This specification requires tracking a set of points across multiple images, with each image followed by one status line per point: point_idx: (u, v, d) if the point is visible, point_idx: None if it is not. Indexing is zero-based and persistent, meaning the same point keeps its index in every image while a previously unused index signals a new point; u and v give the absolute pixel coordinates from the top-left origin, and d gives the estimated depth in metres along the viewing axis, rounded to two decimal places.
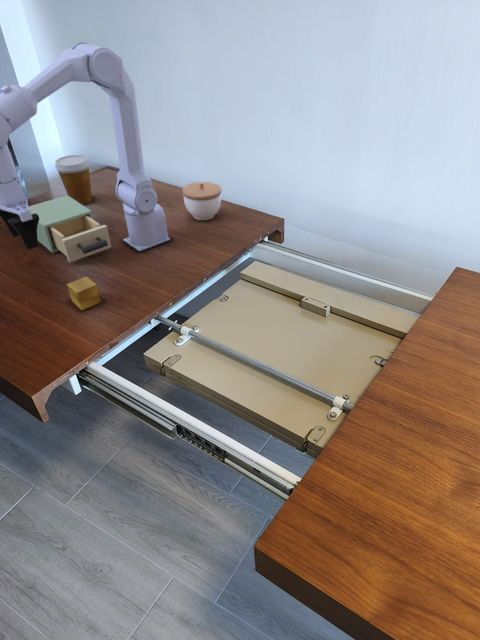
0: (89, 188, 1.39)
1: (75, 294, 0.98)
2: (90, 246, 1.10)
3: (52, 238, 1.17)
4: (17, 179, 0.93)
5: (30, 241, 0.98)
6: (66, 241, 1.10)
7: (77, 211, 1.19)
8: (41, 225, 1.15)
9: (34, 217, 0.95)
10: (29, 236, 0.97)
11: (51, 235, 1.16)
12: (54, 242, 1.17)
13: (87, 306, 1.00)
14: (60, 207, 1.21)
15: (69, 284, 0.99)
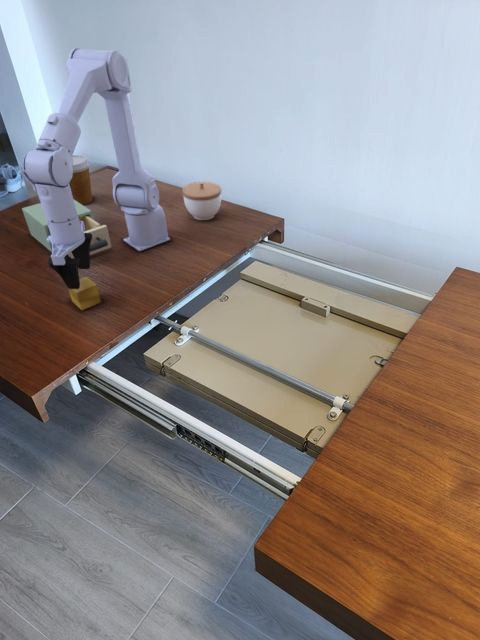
0: (89, 188, 1.39)
1: (75, 294, 0.98)
2: (90, 246, 1.10)
3: None
4: (69, 221, 0.88)
5: (70, 282, 0.94)
6: None
7: (77, 211, 1.19)
8: (41, 225, 1.15)
9: (72, 262, 0.89)
10: (70, 277, 0.93)
11: None
12: None
13: (87, 306, 1.00)
14: None
15: None
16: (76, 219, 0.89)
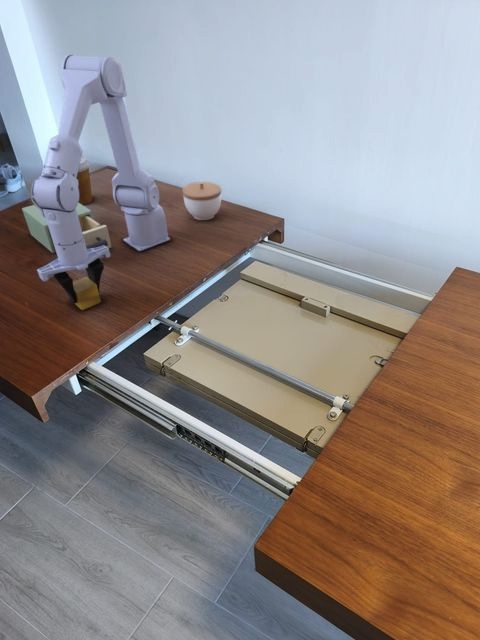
0: (89, 188, 1.39)
1: None
2: (90, 246, 1.10)
3: None
4: None
5: None
6: None
7: (77, 211, 1.19)
8: (41, 225, 1.15)
9: None
10: None
11: None
12: None
13: (87, 306, 1.00)
14: None
15: None
16: None
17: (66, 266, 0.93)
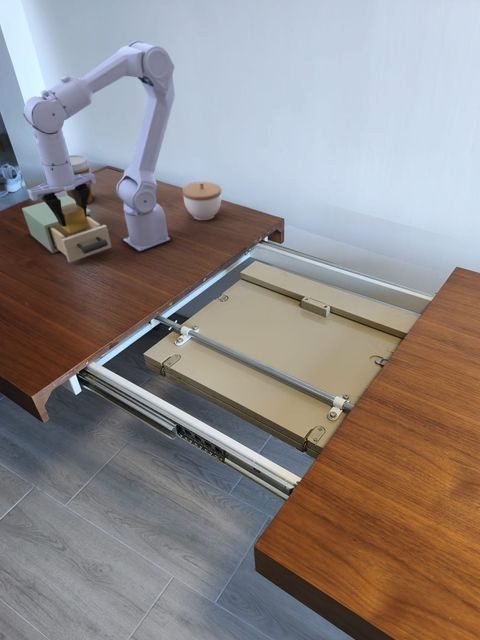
0: (89, 188, 1.39)
1: None
2: (90, 246, 1.10)
3: (52, 238, 1.17)
4: None
5: None
6: (66, 241, 1.10)
7: None
8: (41, 225, 1.15)
9: None
10: None
11: (51, 235, 1.16)
12: (54, 242, 1.17)
13: (75, 229, 1.07)
14: None
15: None
16: None
17: (54, 187, 1.00)
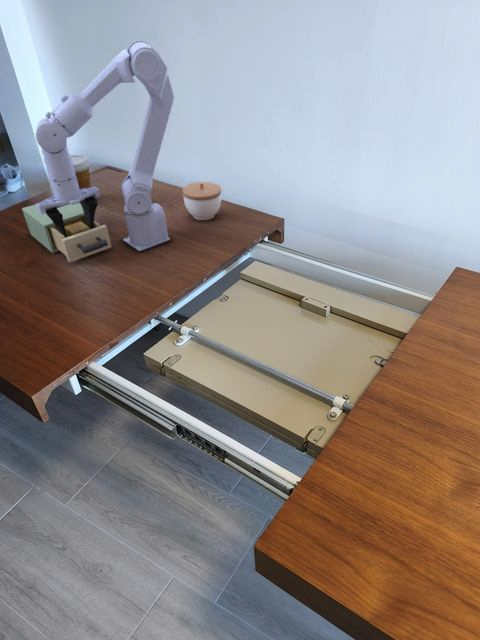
0: None
1: (71, 235, 1.14)
2: (90, 246, 1.10)
3: (52, 238, 1.17)
4: None
5: None
6: (66, 241, 1.10)
7: (77, 211, 1.19)
8: (41, 225, 1.15)
9: None
10: None
11: (51, 235, 1.16)
12: (54, 242, 1.17)
13: None
14: (60, 207, 1.21)
15: (66, 227, 1.15)
16: None
17: (61, 201, 1.07)
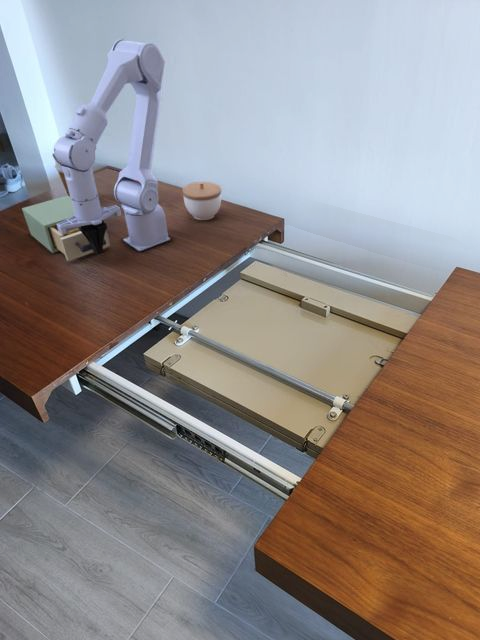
0: None
1: (69, 233, 1.14)
2: (88, 245, 1.11)
3: (51, 237, 1.17)
4: None
5: None
6: (64, 240, 1.10)
7: None
8: (41, 225, 1.15)
9: None
10: None
11: (50, 234, 1.17)
12: (53, 241, 1.17)
13: None
14: (60, 207, 1.21)
15: None
16: None
17: (82, 221, 1.03)
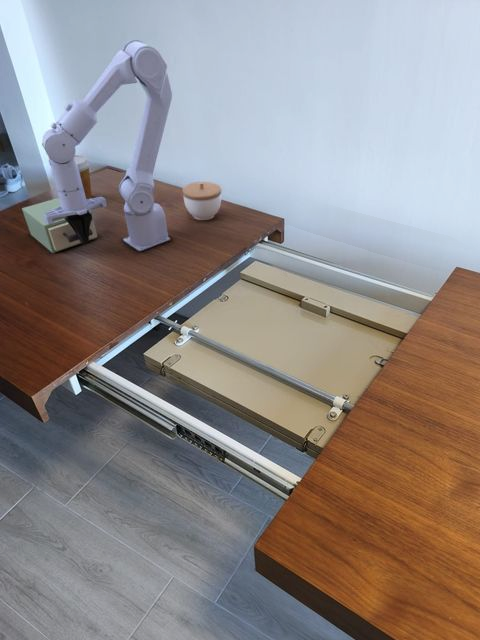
0: (89, 188, 1.39)
1: (57, 224, 1.18)
2: (75, 235, 1.14)
3: None
4: None
5: None
6: (52, 230, 1.14)
7: None
8: (41, 225, 1.15)
9: None
10: None
11: None
12: None
13: None
14: None
15: None
16: None
17: (68, 211, 1.07)
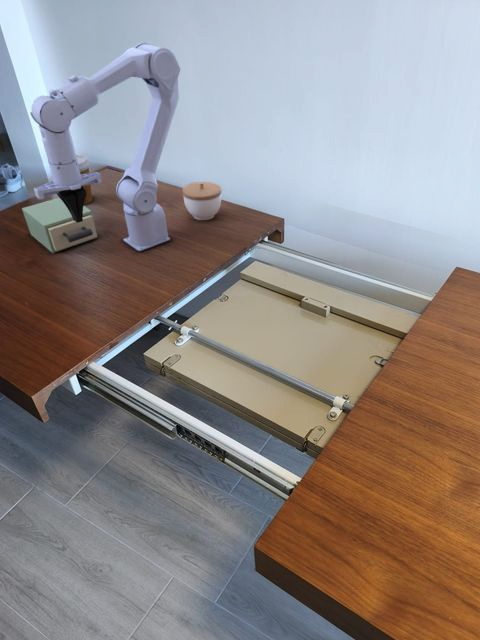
0: (89, 188, 1.39)
1: (57, 224, 1.18)
2: (75, 235, 1.14)
3: None
4: None
5: None
6: (52, 230, 1.14)
7: None
8: (41, 225, 1.15)
9: None
10: None
11: None
12: None
13: None
14: (60, 207, 1.21)
15: None
16: None
17: (60, 186, 1.00)
